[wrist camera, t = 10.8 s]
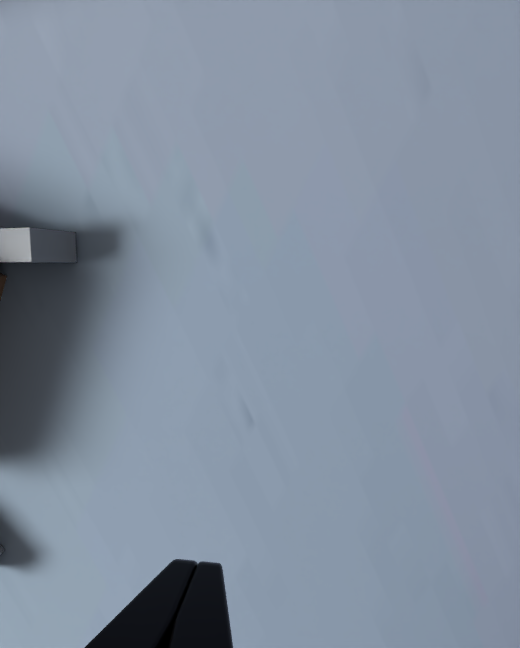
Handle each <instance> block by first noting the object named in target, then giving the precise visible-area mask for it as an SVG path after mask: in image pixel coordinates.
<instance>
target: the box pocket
mask: <svg viewBox="0 0 520 648" xmlns="http://www.w3.org/2000/svg"><path fill="white" fill-rule="evenodd" d="M75 262H77V255H76V235H75V232H68V231H59V230H49V229H39V228H30V227H28V228H3V227H0V263H75ZM4 550H5V549H4V548H3V547H2V546H1V545H0V555H1V554H2V553H3V551H4Z"/></svg>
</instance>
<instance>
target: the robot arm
mask: <svg viewBox="0 0 520 648" xmlns="http://www.w3.org/2000/svg"><path fill="white" fill-rule="evenodd" d="M85 648H233V643H232V636H231V628H230V621H229V614H228V606H227V599H226V592H225V584H224V577H223V570H222V566H221V564H220V563H212V562H200V563H198V564H197V562H195V561H192V560H182V559H175V560H173V561H172V562H171V563H170V564H169V565H168V566H167V567H166V568H165V569H164V570H163V571H162V572H161V573H160V574H159V575H158V576H157V577H155V578H154V579H153V580H152V581H151V582H150V583H149V584H148V585H147V586H146V587H145V588H144V589H143V590H142V591H141V592H140V593H139V594H138V595H137V596H136V597H135V598H134V599H133V600H132V601H131V602H130V603H129V604H128V605H127V606H126V607H125V608H124V609H123V610H122V611H121V612H120V613H119V614H118V615H117V616H116V617H115V618H114V619H113V620H112V621H111V622H110V623H109V624H108V625H107V626H106V627H105V628H104V629H103V630H102V631H101V632H100V633H99V634H98V635H97V636H96V637H95V638H94V639H93V640H92V641H91V642H90V643H89V644H88V645H87V646H86V647H85Z"/></svg>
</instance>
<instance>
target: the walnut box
mask: <svg viewBox="0 0 520 648" xmlns="http://www.w3.org/2000/svg"><path fill="white" fill-rule="evenodd" d="M6 278H7V276H6V275H4V274H2V273H0V300H1V297H2V293H3V289H4V286H5V282H6Z"/></svg>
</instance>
